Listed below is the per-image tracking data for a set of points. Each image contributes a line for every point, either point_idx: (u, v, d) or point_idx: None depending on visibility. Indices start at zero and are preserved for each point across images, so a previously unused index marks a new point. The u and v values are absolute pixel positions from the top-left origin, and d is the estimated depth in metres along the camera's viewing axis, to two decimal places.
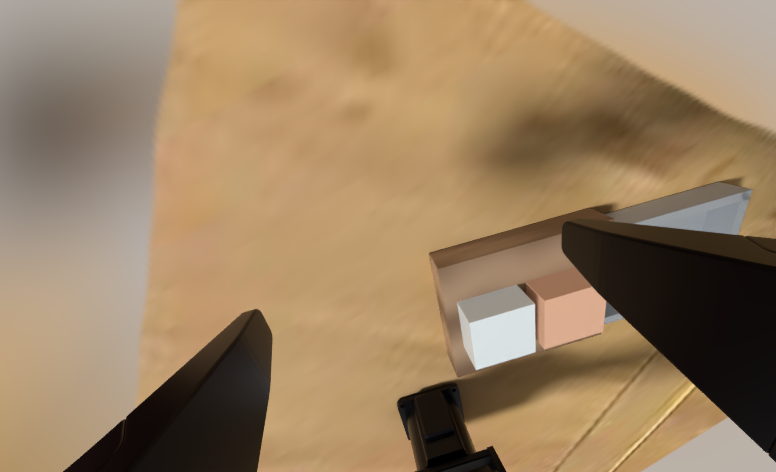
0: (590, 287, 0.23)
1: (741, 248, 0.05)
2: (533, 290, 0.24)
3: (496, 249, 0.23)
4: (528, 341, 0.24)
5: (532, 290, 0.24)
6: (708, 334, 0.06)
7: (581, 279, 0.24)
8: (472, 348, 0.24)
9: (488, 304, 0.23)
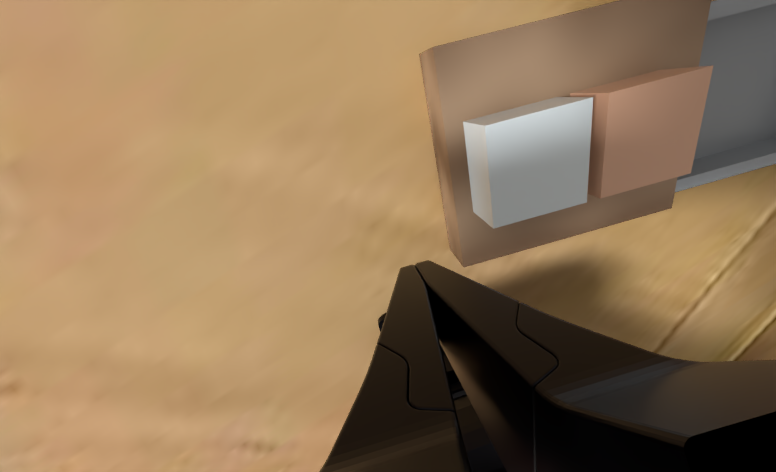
0: (683, 73, 0.14)
1: (500, 319, 0.05)
2: (585, 94, 0.15)
3: (526, 24, 0.15)
4: (578, 179, 0.15)
5: (583, 96, 0.15)
6: (487, 402, 0.06)
7: (663, 74, 0.15)
8: (488, 185, 0.15)
9: (514, 112, 0.15)
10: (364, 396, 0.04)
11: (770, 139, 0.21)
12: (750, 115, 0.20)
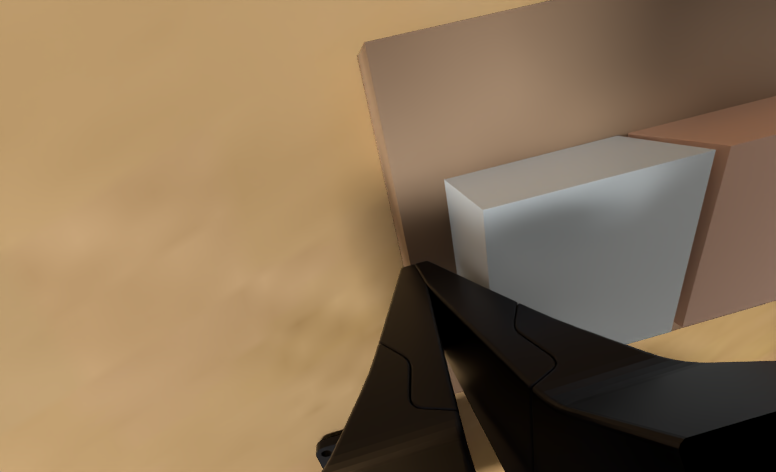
0: None
1: (498, 320, 0.05)
2: (664, 138, 0.08)
3: (555, 1, 0.07)
4: (661, 297, 0.08)
5: None
6: (485, 403, 0.06)
7: None
8: None
9: (542, 171, 0.07)
10: (366, 395, 0.04)
11: None
12: None
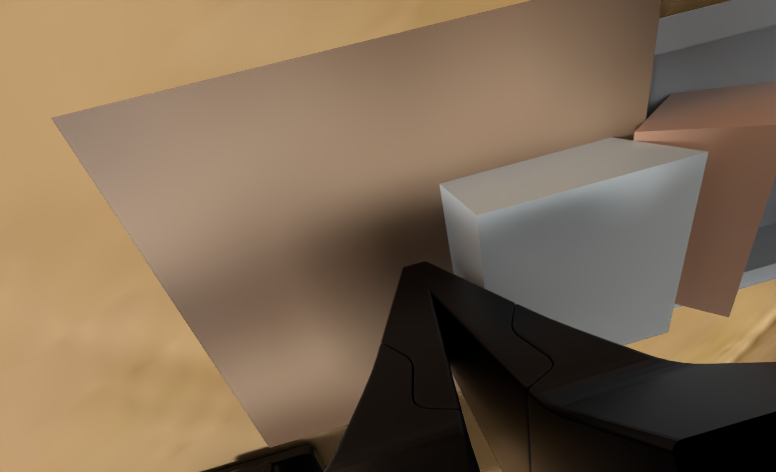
0: None
1: (496, 321, 0.05)
2: (691, 131, 0.07)
3: (273, 66, 0.07)
4: (656, 298, 0.08)
5: (684, 136, 0.07)
6: (483, 403, 0.06)
7: (731, 94, 0.09)
8: None
9: (536, 174, 0.07)
10: (369, 394, 0.04)
11: None
12: None
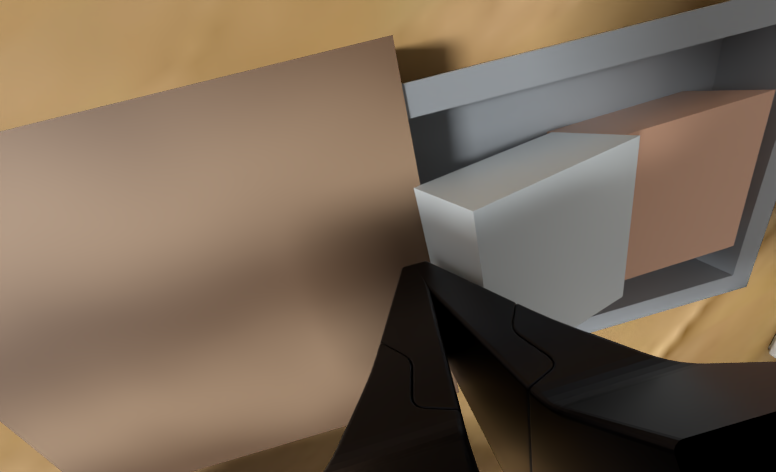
0: (726, 105, 0.08)
1: (496, 321, 0.05)
2: None
3: None
4: (614, 268, 0.09)
5: None
6: (484, 403, 0.06)
7: (691, 102, 0.09)
8: None
9: (507, 168, 0.08)
10: (368, 395, 0.04)
11: None
12: None
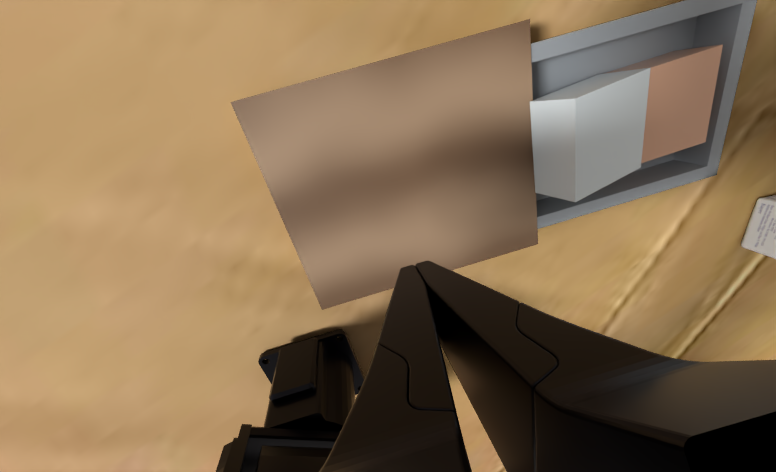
0: (696, 53, 0.16)
1: (500, 319, 0.05)
2: None
3: (334, 74, 0.14)
4: (636, 146, 0.16)
5: None
6: (487, 402, 0.06)
7: (678, 54, 0.17)
8: (572, 158, 0.15)
9: (581, 87, 0.15)
10: (364, 396, 0.04)
11: (648, 168, 0.21)
12: None
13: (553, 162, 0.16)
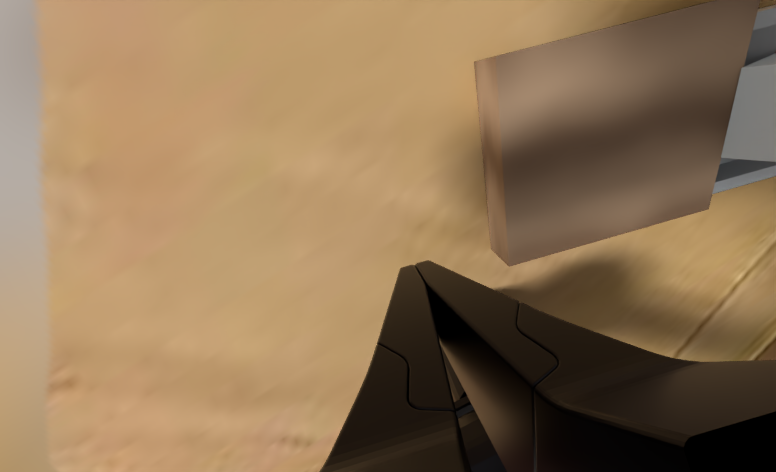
0: None
1: (500, 319, 0.05)
2: None
3: (583, 34, 0.15)
4: None
5: None
6: (487, 402, 0.06)
7: None
8: None
9: None
10: (364, 396, 0.04)
11: None
12: None
13: (759, 125, 0.17)
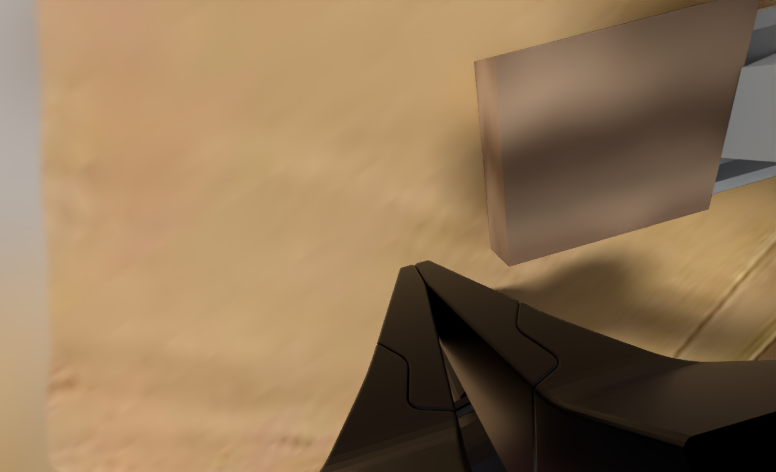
0: None
1: (500, 319, 0.05)
2: None
3: (583, 34, 0.15)
4: None
5: None
6: (487, 402, 0.06)
7: None
8: None
9: None
10: (364, 396, 0.04)
11: None
12: None
13: (759, 125, 0.17)
